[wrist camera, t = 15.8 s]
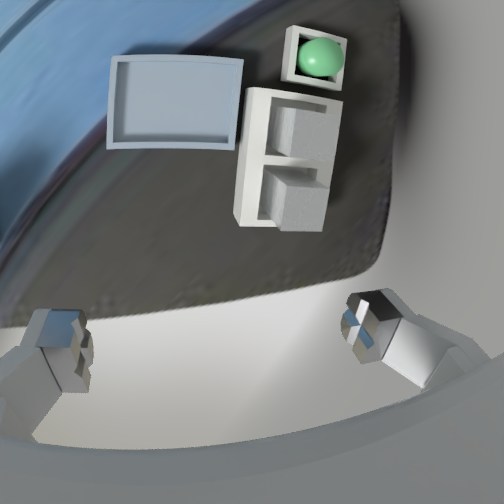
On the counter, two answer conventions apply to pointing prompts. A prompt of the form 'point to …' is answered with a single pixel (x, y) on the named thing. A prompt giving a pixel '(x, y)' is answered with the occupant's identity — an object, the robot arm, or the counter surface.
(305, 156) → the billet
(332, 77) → the button housing
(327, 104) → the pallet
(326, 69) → the button
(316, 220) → the block
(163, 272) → the counter surface
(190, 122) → the tote
